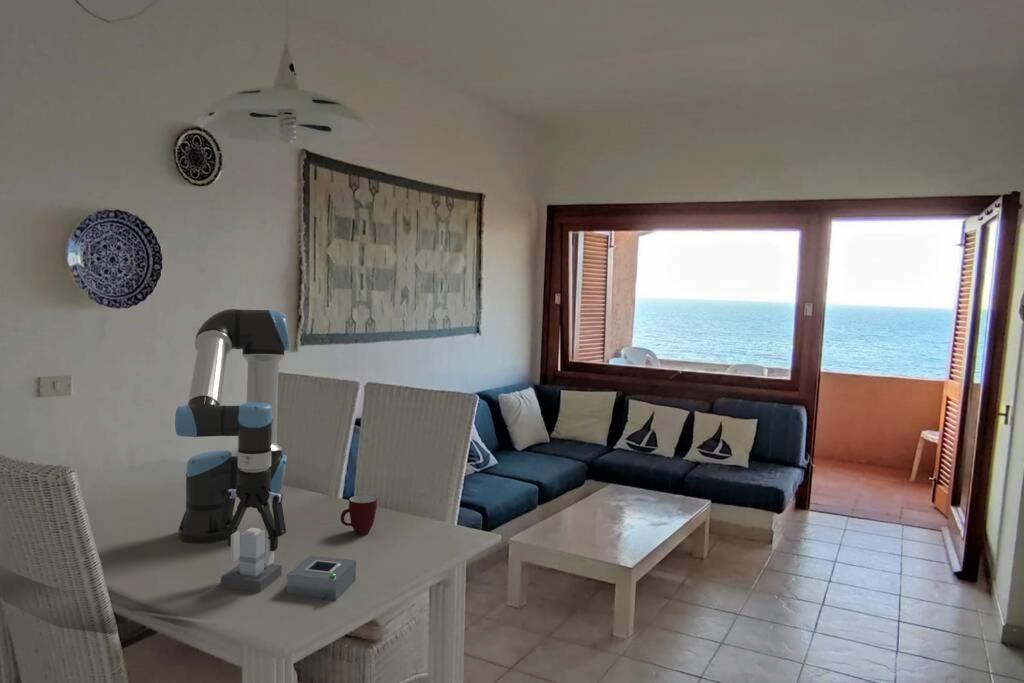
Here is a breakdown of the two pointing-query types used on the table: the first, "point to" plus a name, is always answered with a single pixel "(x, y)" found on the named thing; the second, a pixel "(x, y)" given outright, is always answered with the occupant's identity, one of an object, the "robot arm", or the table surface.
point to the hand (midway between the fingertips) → (252, 561)
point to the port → (322, 577)
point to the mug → (361, 513)
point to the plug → (252, 552)
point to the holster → (251, 578)
